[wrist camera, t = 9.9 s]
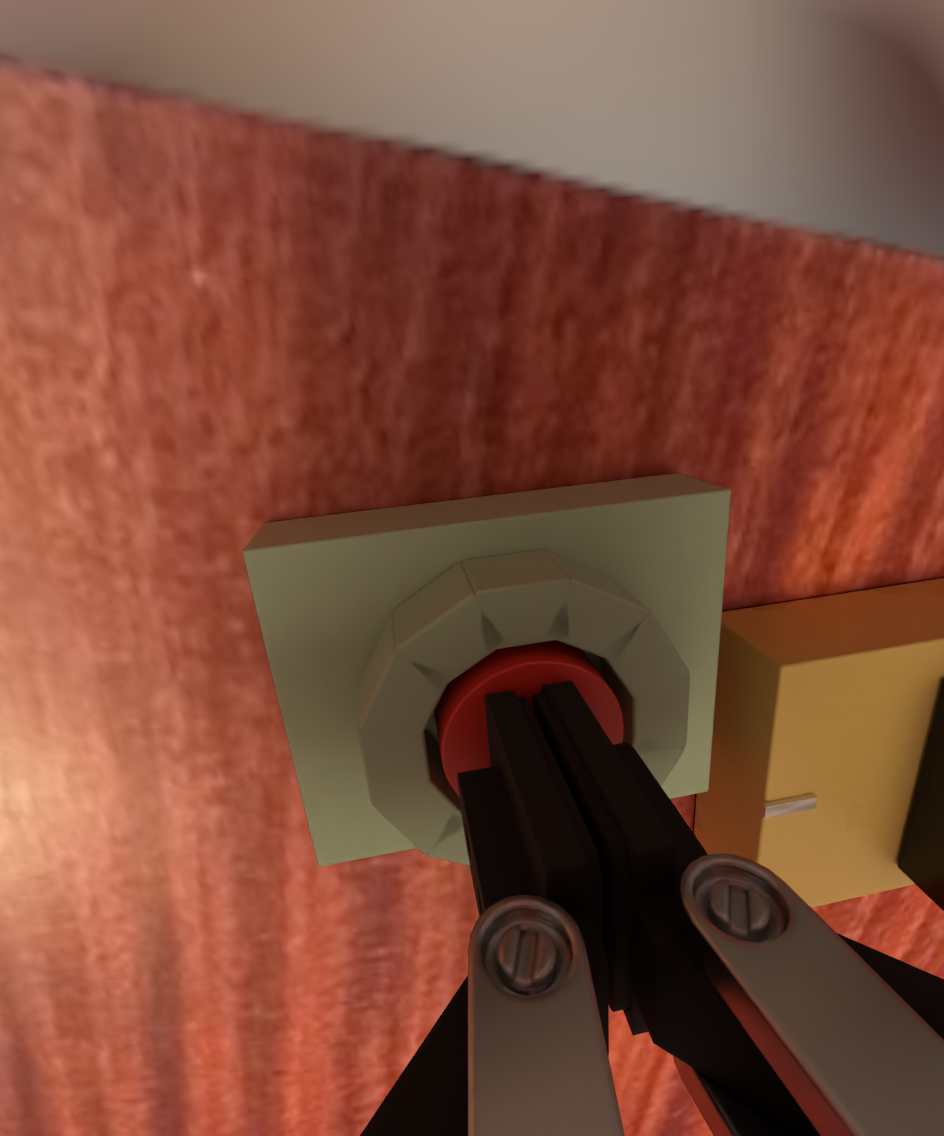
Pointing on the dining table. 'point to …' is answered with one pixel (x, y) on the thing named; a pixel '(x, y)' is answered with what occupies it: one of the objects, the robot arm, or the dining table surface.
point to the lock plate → (823, 736)
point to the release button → (526, 675)
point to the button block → (483, 637)
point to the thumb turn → (928, 818)
